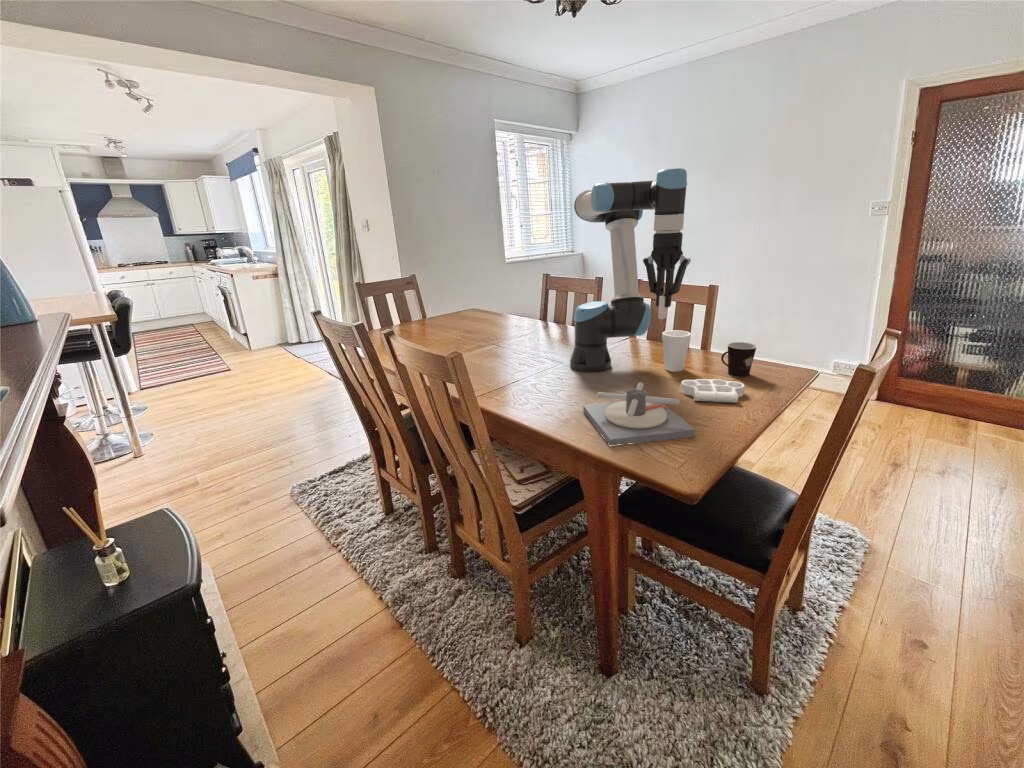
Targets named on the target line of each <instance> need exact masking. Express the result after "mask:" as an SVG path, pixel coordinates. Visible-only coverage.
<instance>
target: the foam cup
mask: <svg viewBox="0 0 1024 768" xmlns="http://www.w3.org/2000/svg"><path fill="white" fill-rule="evenodd" d="M691 337H692V333H691V332H689V331H686V330H681V329H680V330H677V329H675V330H674V329H669V330H664V331H662V335H661V341H662V348H663V349H662V350H663V351H662V353H663V363H664V366H663V367H664V370H665V369H666V370H665V371H667V370H668V371H667V372H672V373H673V372H675V373H676V372H681V371H684V369H685V368H684V367H685V365H686V363H685V362H686V359H687V355H688V351H689V345H690V342H691Z"/></svg>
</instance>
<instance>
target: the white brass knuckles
mask: <svg viewBox="0 0 1024 768" xmlns="http://www.w3.org/2000/svg"><path fill="white" fill-rule="evenodd" d="M744 392H745V384H744V383H743V382H739V381H734V380H733V381H732V380H729V381H728V380H724V379H719V378H718V379H717V378H713V379H712V378H710V379H709V378H696V379H684V380H682V381H681V382H680V393H681V394H683V395H685V396H686V395H687V396H691V395H692V396H691V397H693V398H694V399H695V400H694V399H693V398H692V399H693V401H694V402H712V403H731V404H737V403H739V398H741V397H743V396H744ZM740 396H741V397H740Z"/></svg>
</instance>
